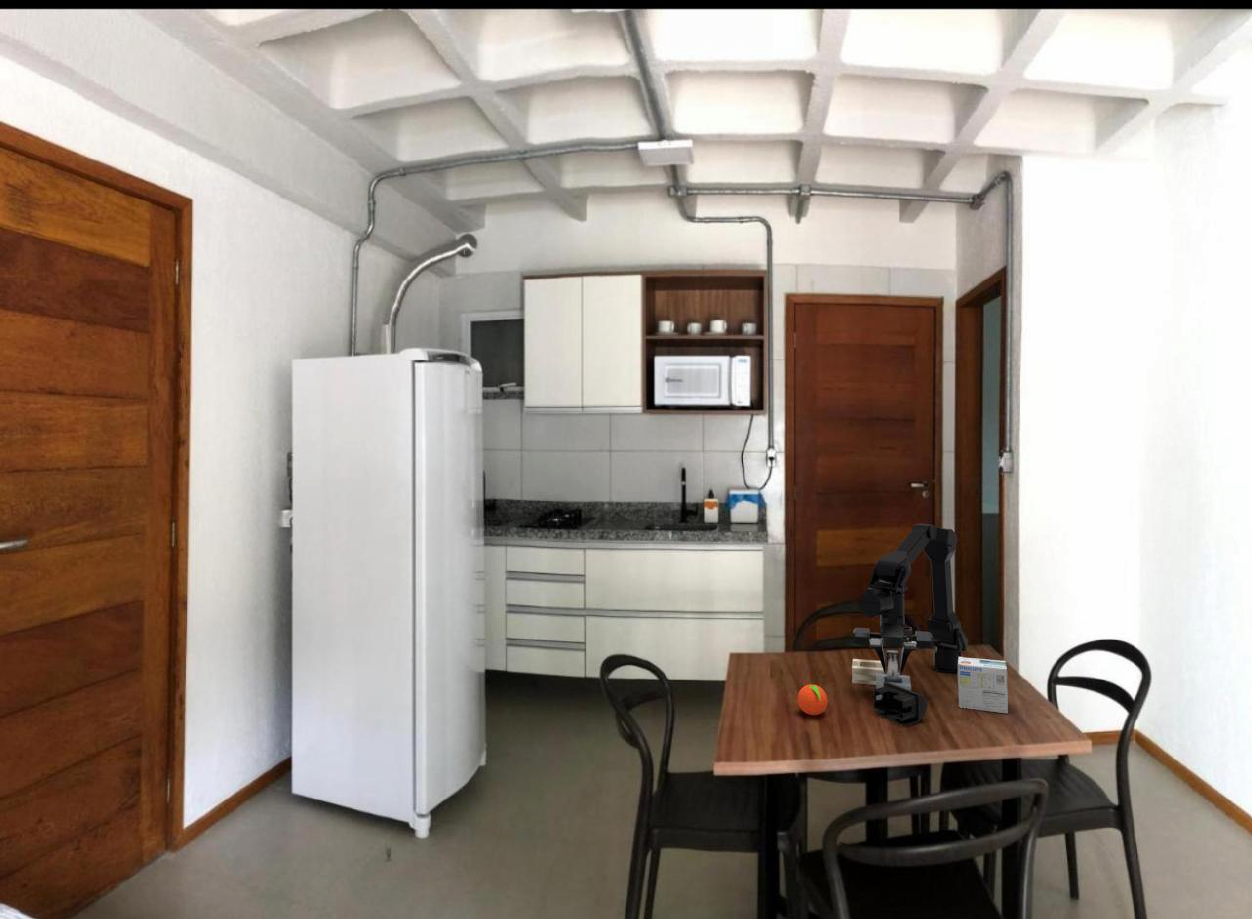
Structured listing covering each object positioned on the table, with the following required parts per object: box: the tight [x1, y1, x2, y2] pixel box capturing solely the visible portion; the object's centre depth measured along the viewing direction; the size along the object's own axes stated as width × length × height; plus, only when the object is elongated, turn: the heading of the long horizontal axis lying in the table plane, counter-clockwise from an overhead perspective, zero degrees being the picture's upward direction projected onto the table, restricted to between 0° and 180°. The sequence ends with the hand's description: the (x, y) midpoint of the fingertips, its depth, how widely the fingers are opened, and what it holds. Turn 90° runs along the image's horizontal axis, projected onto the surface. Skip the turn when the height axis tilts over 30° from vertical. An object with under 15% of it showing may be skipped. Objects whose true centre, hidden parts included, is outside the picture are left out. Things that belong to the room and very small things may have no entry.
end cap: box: [872, 682, 928, 727], centre depth 168 cm, size 10×7×7 cm
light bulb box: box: [957, 656, 1009, 714], centre depth 173 cm, size 11×7×11 cm, turn 65°
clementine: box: [797, 684, 829, 716], centre depth 170 cm, size 8×7×7 cm
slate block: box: [875, 673, 912, 701], centre depth 181 cm, size 8×8×4 cm
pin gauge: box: [885, 649, 900, 683], centre depth 181 cm, size 3×3×10 cm
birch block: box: [851, 658, 885, 686], centre depth 194 cm, size 8×8×4 cm
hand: (893, 672), depth 181 cm, fingers open, 4 cm apart
